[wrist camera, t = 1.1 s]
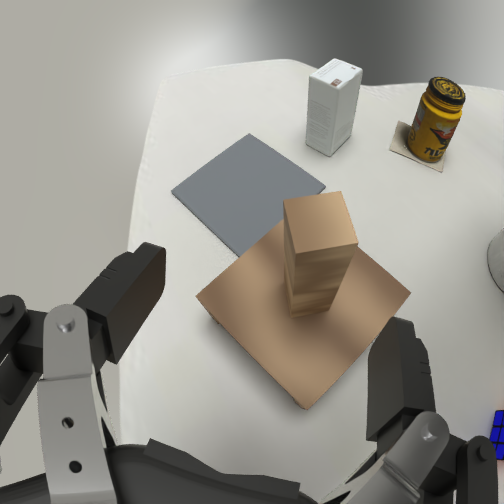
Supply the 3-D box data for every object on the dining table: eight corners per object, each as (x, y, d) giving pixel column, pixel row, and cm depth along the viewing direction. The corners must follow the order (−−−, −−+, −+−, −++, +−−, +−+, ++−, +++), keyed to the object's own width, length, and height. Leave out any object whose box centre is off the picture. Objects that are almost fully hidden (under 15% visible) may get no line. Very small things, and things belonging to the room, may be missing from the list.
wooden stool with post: (299, 235, 37) (306, 104, 20) (389, 313, 32) (475, 222, 15) (211, 316, 34) (142, 224, 17) (302, 408, 29) (327, 417, 12)
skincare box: (327, 123, 45) (332, 55, 34) (352, 136, 43) (364, 68, 33) (303, 145, 43) (305, 73, 32) (330, 160, 42) (339, 87, 31)
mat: (249, 135, 45) (249, 133, 45) (325, 187, 40) (325, 185, 39) (171, 192, 42) (170, 190, 41) (243, 260, 36) (242, 259, 36)
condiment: (441, 173, 40) (472, 111, 29) (389, 150, 42) (408, 84, 31) (446, 142, 42) (470, 84, 31) (397, 122, 45) (414, 60, 34)
